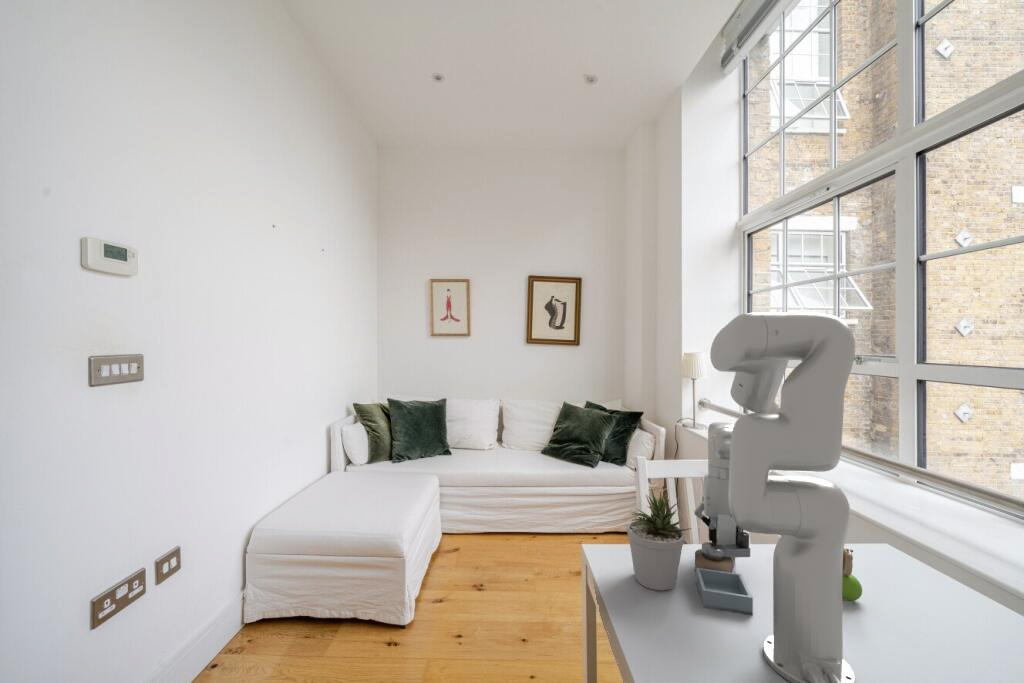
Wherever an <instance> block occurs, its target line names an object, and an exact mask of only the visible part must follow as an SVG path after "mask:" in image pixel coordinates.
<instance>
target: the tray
mask: <svg viewBox="0 0 1024 683" xmlns="http://www.w3.org/2000/svg"><path fill="white" fill-rule="evenodd" d="M695 584H696V588H697V592H698V594H699V598H700V602H701V606H702V608H706V609H711V610H717V611H722V612H723V611H724V612H728V613H729V612H730V613H736V614H742V615H747V616H753V615H754V613H753V612H754V606H753V605H754V599H753V596H752V593H751V591H750V590H749V588H748V585H747V583H746V582H745V580H744V577H743V576H742V574H741V573H737V572H732V573H730V572H723V571H716V570H709V569H702V568H696V572H695Z"/></svg>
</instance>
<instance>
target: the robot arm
mask: <svg viewBox="0 0 1024 683" xmlns="http://www.w3.org/2000/svg"><path fill="white" fill-rule="evenodd" d="M710 346H711V347H710V353H709V354H710V357H709V358H710V361H711V365H712V366H713V368H714V369H715V370H716V371H718V372H721V373H722V372H728V373H729V372H730V373H732V372H733V373H735V374H734V377H733V381H732V384H731V387H730V396H731V398H732V400H733V401H734V403H736V404H737V405H739V406H740V407H742V408H744V409H746V410H747V411H749V412H752V413H747V414H743V415H741V416H740V417H739V418H737V420H736V421H735V423H731V422H730V423H729V422H720V421H719V422H717V421H716V422H712V423H710V424H709V425H708V427H707V459H708V462H707V466H708V467H707V471H708V472H707V473H706V474H704V477H703V481H702V491H701V502H700V503H699V505H698V506H697V507H696V508H695V509H694V510H693V514H694V515H695V516H696V517H697V518H698V519H699V520H701V521H702V522H703V523H704V524H705V525H706V526H707V527H708V541H709V542H711V543H716V529H715V523H716V519H717V518H718V514H722V515H731V516H732V518H733V520H734V521H735V523H736V544H738V532H745V531H746V532H747V533H748V532H749V533H752V534H753V533H754V534H763V535H780V538H779V539H778V541H777V543H776V545H775V547H774V551H773V556H772V557H773V558H772V561H773V563H772V567H773V569H772V570H773V571H772V572H773V573H772V574H773V575H772V576H773V577H772V580H773V581H772V582H773V583H772V584H773V587H772V589H773V590H772V591H773V592H772V594H773V595H772V598H773V600H772V601H773V602H772V604H773V605H772V607H773V612H772V613H773V615H772V616H773V619H772V620H773V622H772V625H773V626H772V627H773V630H772V631H773V634H772V635H769V636H768V637H766V638H765V639H764V641H763V644H762V653H763V656H764V658H765V660H766V662H767V663H768V664H769V665H770V667H771V668H772V669H773V670H775V672H776V673H777V674H779V675H780V676H782V677H783V678H784V679H786V680H787V681H789V682H790V683H856V676H855V672H854V671H853V669H852V667H851V666H850V665H849V663H847V661H846V660H845V659H844V658H843V653H844V652H843V645H844V644H843V640H844V639H843V599H842V567H843V550H844V548H845V544H846V538H847V535H848V534H847V533H848V530H849V527H850V521H851V507H850V503H849V500H848V498H847V495H846V494H845V493H844V492H843V491H842V489H841V488H840V487H839V486H837V485H836V484H834V483H833V482H830V481H829V480H827V479H823V478H819V477H814V476H808V475H790V474H789V475H788V474H784V475H783V474H780V475H779V474H778V475H777V474H770V473H771V472H773V471H774V472H775V471H776V472H796V473H797V472H798V473H823V472H829V471H832V470H834V469H835V468H836V467H837V466H838V464H839V462H840V459H841V454H842V446H843V444H842V443H843V427H844V426H843V425H844V423H843V422H844V410H845V393H846V388H847V383H848V381H849V380H848V379H849V377H850V375H851V371H852V368H853V365H854V361H855V357H856V356H855V354H856V342H855V336H854V334H853V332H852V330H851V328H850V326H849V325H848V324H847V322H846V321H844V320H843V319H842V318H840V317H838V316H835V315H833V314H827V313H820V312H804V311H803V312H801V311H799V312H797V311H796V312H795V311H794V312H793V311H791V312H790V311H788V312H749V313H748V312H747V313H741V314H740V315H736V316H735V317H734V318H733V319H731V321H730V322H728V323H727V324H726V325H725V326H724V327H723V328H721V329H720V330H719V331H718V333H717V334H716V335H715V337H714V339H713V341H712V344H711V345H710ZM789 361H801V362H800V363H799V364H797V366H795V367H794V368H793V369H792V371H791V372H789V374H788V375H787V377H786V379H785V380H784V381H782V380H783V378H784V375H785V372H786V369H787V366H788V363H789ZM782 382H783V384H782V385H781V383H782ZM780 386H781V390H780V395H781V397H780V406H779V405H778V404H777V402H776V401H775V400H776V397H777V395H778V392H779V389H780ZM703 512H704V514H703Z"/></svg>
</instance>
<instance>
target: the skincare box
mask: <svg viewBox="0 0 1024 683" xmlns="http://www.w3.org/2000/svg"><path fill="white" fill-rule="evenodd" d="M715 529H716V544H719V545H730V544H736V523H735V521H734V520H733V518H732V516H731V515H722V514H718V518H717V519H716V523H715ZM731 559H732V567H736V557H734V558H731Z"/></svg>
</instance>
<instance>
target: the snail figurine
mask: <svg viewBox="0 0 1024 683" xmlns="http://www.w3.org/2000/svg"><path fill="white" fill-rule="evenodd" d="M853 552H854V550H853V549H849V548H845V547H844V550H843V567H842V600H844V601H849V602H852V601H857V600H859V599H860V598H861V597H862V595H863V587H862V585H861V582H860V581H859V579H858V578H856V576H855V575H854V574H853V575H852V573H853V568H854V567H853V566H854V565H853V559H854V556H853Z"/></svg>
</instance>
